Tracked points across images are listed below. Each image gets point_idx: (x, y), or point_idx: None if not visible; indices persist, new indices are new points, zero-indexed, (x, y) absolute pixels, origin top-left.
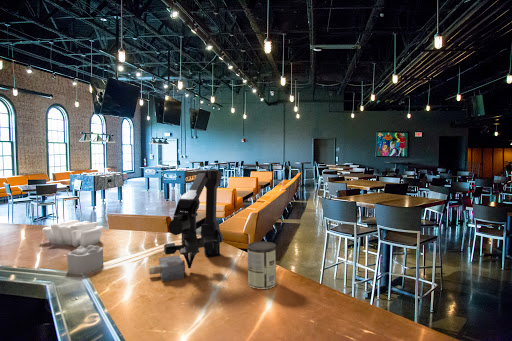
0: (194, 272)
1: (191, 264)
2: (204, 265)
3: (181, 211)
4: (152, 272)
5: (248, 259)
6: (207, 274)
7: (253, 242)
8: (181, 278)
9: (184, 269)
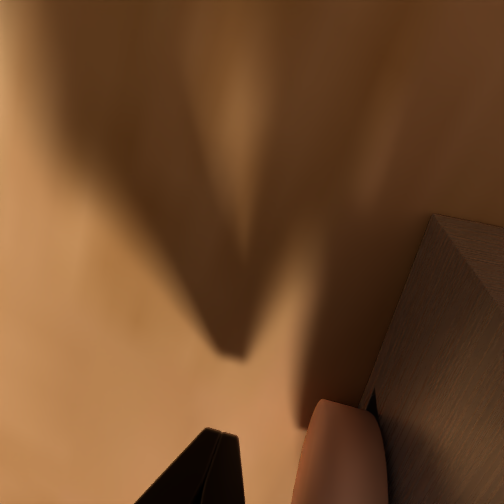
0: (179, 337)
1: (168, 474)
2: (20, 442)
3: None
4: None
5: None
6: (14, 149)
7: None
8: (482, 225)
9: (340, 420)
